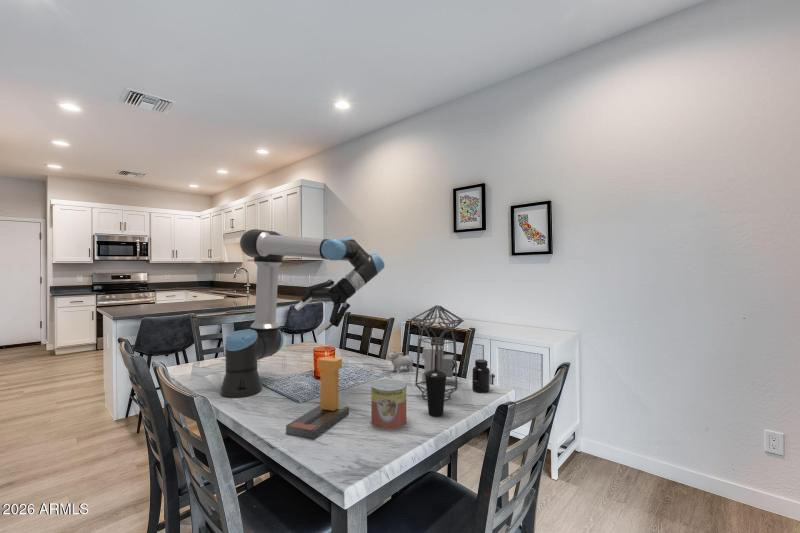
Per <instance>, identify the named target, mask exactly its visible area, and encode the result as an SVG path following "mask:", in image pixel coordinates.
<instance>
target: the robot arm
mask: <svg viewBox="0 0 800 533" xmlns="http://www.w3.org/2000/svg"><path fill="white" fill-rule="evenodd" d="M239 247H240V249H241V251H242V253H243V254H244V255H246V256H247V257H251V258H253V263H254V264H255V265H256V267H257V268H256V269H257V270H256V286H255V288H256V289H255V290H256V292H255V307H254V309H255V310H254V321H253V323H252V324H251V325H250V329H241V330H237V331H233V332H232V333H230V334H228V335H227V336H226V338H225V346H224V347H225V375H224V378H223V380H222V385H221V387H220V395H221V396H222V397H225V398H245V397H250V396H252V395H256V394H258V393H260V392H261V391H262V390H263V383H262V381H261V378H260V374H259V371H258V361H260V360H261V359H264V358H268V357H271V356H274V355H275V354H277V353H278V352H280V350H281V349H282V347H283V345H284V341H285V340H284V339H285V338H284V334H283V333H282V331H281V330H280V325H279V324H278V323H277V322H276V321H277V320H276V319H277V301H278V288H279V286H278V284H279V268H280V266H281V265H282V264H283V260H284V257H296V258H308V259H320V260H329V261H334V262H335V261H347V262H348V263H350V265H351V266H353V267H354V268H352V270H351V271H349V272H348V273H346V274H345V276H344V277H342V278H341V279H340V280H338V281H337V282H336V284H335V281H334V280H332V279H327V281H324V282H320V283H317V284H314V285H309V286H307V287H306V290H307V291H306V294H305V295H304V296H302V297H301V298H300V300H301V301H299V303H297V304H296V305H295V306H294V308H295V310H297V312H299V311H300V310H301V309H302V308H303V307H305V306H306V305H307V304H309V303H310V302H311V301H312V300H313V297H314V298H315V297H316V298H317V297H328V298H329V299H330V300H331V302H332V303H333V307H332V310H331V314H330V317H329V320H328V319H327V320H326V321H324V322H323V323H322V324H321V325H320V326H318V328H316V329H315V330H314V331H313V332H314V333H315V334H316V335H317V336H320V334H322V333H323V332H324V331H328V330H329V329H330V328H331V327H332V326H335V327H336V328H337V327H339V326H340V323H341V322H342V319H343V318H344V316H345V314H346V312H347V310H348V309H349V308H350V307H351V304H349V303H348V302H347V300H348V299H350V298H352V297H353V296H354V295H355V294H356V293H357V292H359V290H360V289H362V288H363V287H365V286H366V284H368V283H369V282H370V281H371V280H372V279H374V278H375V277H376V276H378V274H379V273H380V272H382V270H384V268H385V262H384V260H383V258H382V257H381V256H380V255H379V254H377V253H375V252H373V253H370V254H369V253H368V252H367V251H366V250H365V249H364V248H363V247H362V246H361V245H360V244H359V242H357V241H356V239H354V238H353V237H352V236H350V235H347V236H343V237H342V238H341V239H339V238H337V239H336V238H319V237H318V238H317V237H307V236H305V237H304V236H291V235H283V233H280V232H277V231H273V230H265V229H257V228H256V229H255V228H252V229H248V230H247V231H245V232H244V233H243V234H242V235H241V237H240V240H239ZM329 287H330V289H327V290H324V289H326V288H329ZM341 305H342V306H341Z"/></svg>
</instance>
